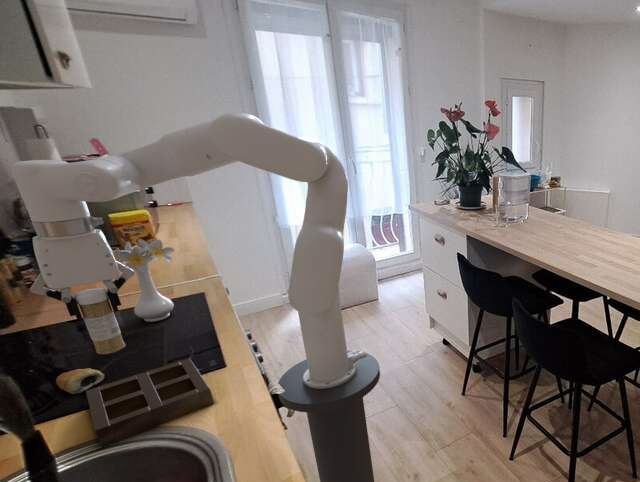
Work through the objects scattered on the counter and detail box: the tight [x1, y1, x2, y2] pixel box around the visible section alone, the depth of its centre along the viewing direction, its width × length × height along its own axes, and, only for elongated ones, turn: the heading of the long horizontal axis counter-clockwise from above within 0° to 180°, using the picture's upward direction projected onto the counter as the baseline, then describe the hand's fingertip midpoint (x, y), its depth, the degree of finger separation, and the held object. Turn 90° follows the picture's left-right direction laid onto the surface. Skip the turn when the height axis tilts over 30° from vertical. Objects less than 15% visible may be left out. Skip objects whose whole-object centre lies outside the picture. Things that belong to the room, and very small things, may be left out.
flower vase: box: [111, 238, 175, 323], centre depth 124 cm, size 13×18×25 cm
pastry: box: [55, 367, 105, 395], centre depth 96 cm, size 9×7×4 cm
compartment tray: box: [85, 357, 215, 448], centre depth 90 cm, size 18×18×4 cm
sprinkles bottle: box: [73, 287, 126, 355], centre depth 85 cm, size 5×5×14 cm
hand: (97, 312), depth 84 cm, fingers closed on sprinkles bottle, 4 cm apart
